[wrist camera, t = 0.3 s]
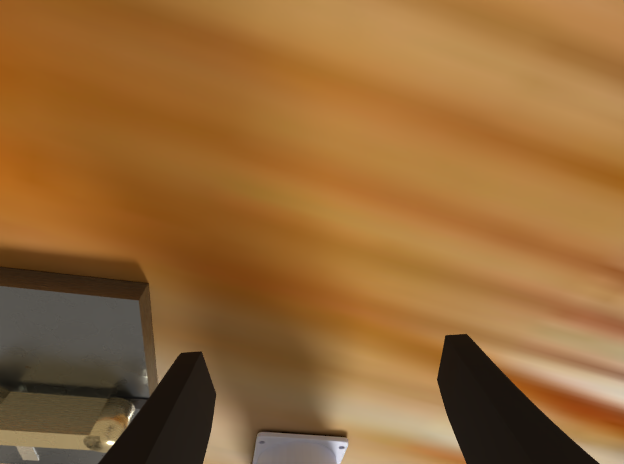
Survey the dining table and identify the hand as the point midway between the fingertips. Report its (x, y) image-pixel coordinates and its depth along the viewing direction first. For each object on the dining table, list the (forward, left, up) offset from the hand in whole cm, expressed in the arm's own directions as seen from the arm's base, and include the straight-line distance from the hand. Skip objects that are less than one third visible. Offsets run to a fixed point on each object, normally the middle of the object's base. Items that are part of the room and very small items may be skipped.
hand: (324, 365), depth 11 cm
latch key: (-16, +15, -8) cm, 24 cm away
